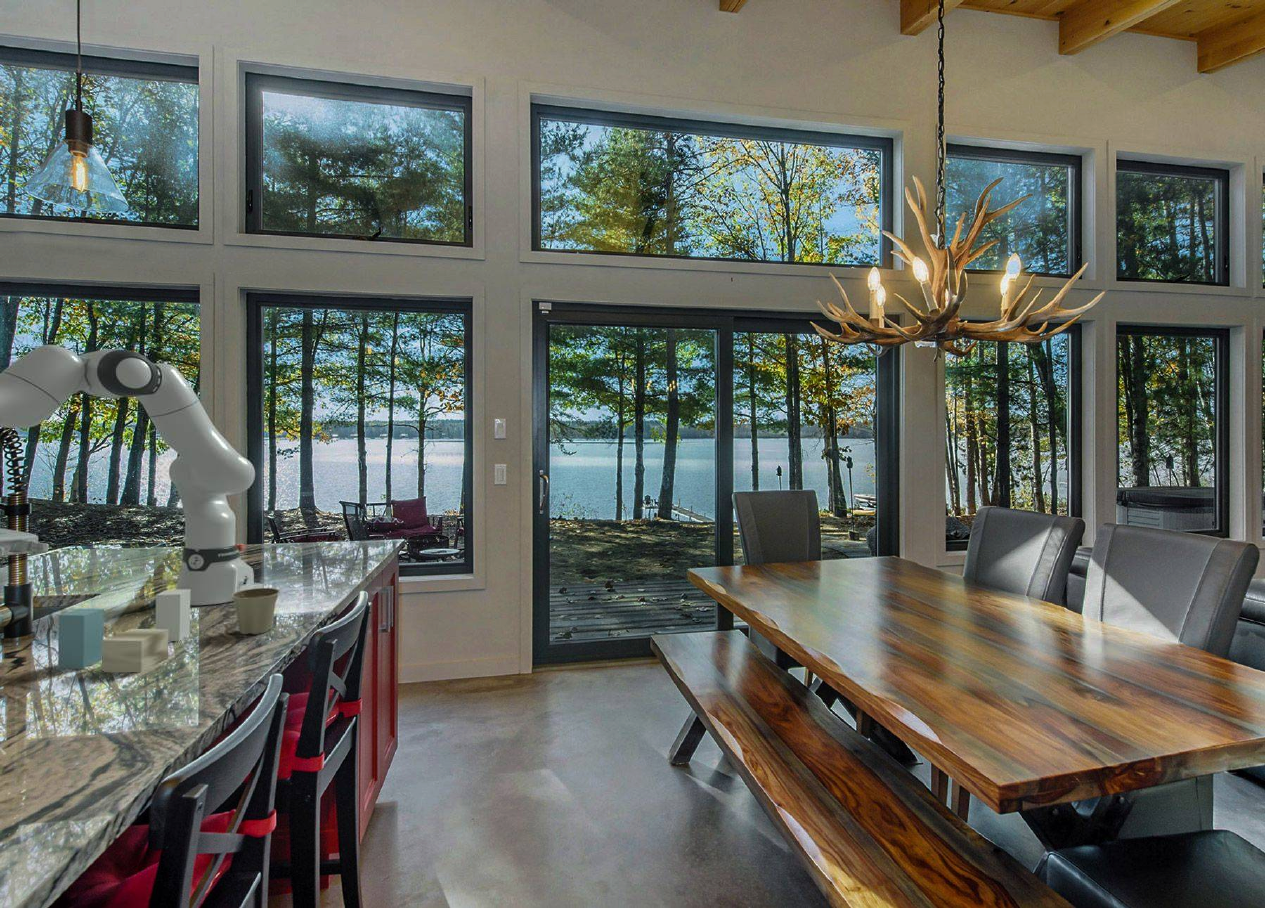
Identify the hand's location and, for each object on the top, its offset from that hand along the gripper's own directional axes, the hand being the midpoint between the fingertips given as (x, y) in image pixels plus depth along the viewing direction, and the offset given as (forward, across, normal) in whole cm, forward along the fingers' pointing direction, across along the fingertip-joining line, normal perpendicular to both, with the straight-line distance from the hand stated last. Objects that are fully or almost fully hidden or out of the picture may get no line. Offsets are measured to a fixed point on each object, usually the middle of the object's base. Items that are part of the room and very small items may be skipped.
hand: (26, 550), depth 116 cm
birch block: (+22, 0, +19) cm, 30 cm away
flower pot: (+35, +20, +16) cm, 43 cm away
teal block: (+13, +1, +20) cm, 24 cm away
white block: (+20, +16, +18) cm, 31 cm away
